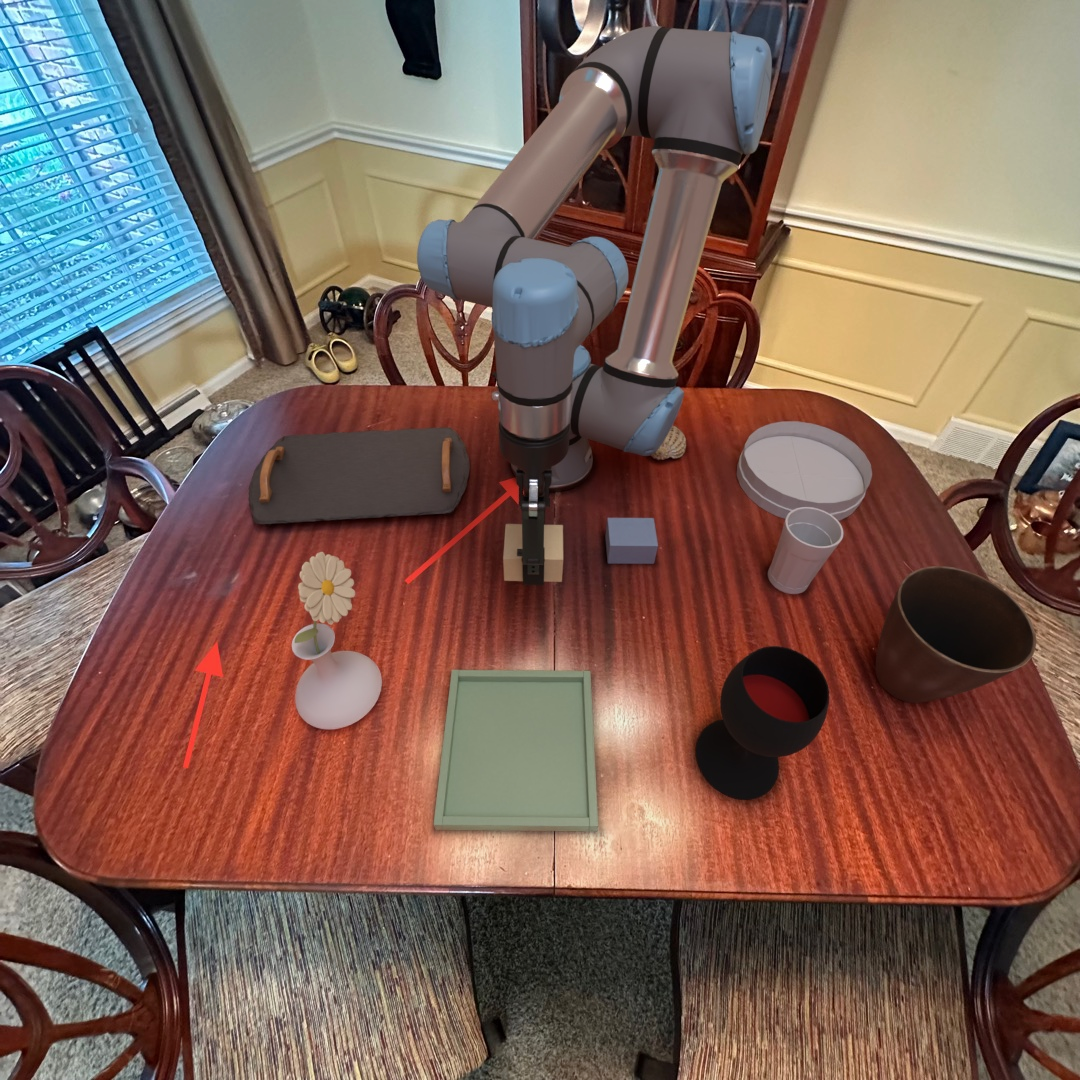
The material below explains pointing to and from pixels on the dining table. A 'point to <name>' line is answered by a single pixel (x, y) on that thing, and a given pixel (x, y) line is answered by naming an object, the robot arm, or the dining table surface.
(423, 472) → the serving tray
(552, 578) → the tan pad
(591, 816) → the frame
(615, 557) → the blue pad
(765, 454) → the dish
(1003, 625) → the flower pot
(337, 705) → the flower in vase
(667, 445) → the seashell
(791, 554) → the cup
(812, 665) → the wine glass
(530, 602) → the dining table surface
